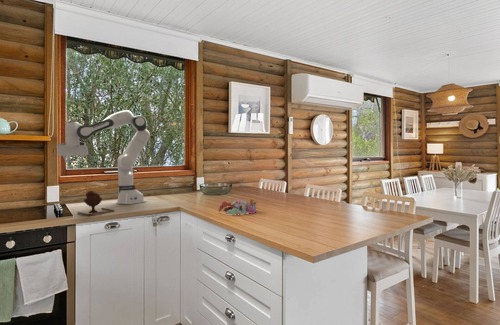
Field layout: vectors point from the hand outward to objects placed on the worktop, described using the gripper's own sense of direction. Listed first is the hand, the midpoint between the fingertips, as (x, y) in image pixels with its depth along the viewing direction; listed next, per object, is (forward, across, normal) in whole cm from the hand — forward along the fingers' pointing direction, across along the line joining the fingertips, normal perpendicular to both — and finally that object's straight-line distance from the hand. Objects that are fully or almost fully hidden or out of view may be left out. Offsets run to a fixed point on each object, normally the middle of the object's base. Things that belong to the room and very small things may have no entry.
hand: (73, 161), depth 228 cm
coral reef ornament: (+36, +94, -85) cm, 132 cm away
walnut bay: (+34, +11, -33) cm, 48 cm away
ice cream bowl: (+34, +10, -32) cm, 48 cm away
